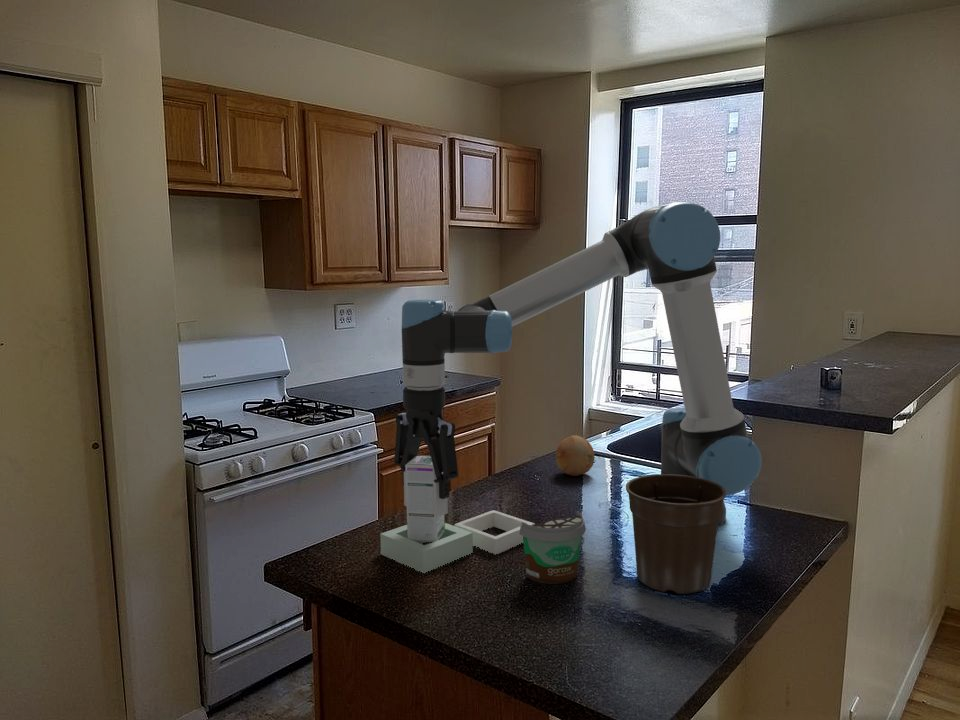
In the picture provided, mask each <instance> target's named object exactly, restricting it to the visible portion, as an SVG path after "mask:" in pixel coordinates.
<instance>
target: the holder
mask: <svg viewBox="0 0 960 720" xmlns="http://www.w3.org/2000/svg"><path fill="white" fill-rule="evenodd" d="M522 522H524V523H526V524H528V525H536V524H535V523H534V522H531V521H528V520H526V519H522V518H519V517H516V516H513V515H510V514H507V513H504V512H500V511H499V510H494V509H493V510H490V511H487V512H484V513H482V514H479V515H477V516H473V517H470V518H468V519H465V520H462V521H459V522H457V523H454V525H453V526H455V527H458V528H461V529H463V530H466V531H469V532H472V533H473V547H474V546H476V547H475V548H477V547H479V548H480V549H479V548H478V549H479V550H482V549H483V550H482V551H484V550H485V552H487V551H488V553H490V554H492V553H493V555H495V556H497V555H499V554H500V553H503V552H506V551H508V550H510V548H511V549H512V547H513V548H515V547H518V546H520V545H522V544H524V542H523V536H522V535H520V534H519V533H520V527H521V526H522ZM493 527H494V528H497V529H500V530H503V531H505V532H503V533H500V534H498V535H494V534H493V535H492V534H490V533H487V532H484V531H486V530H488V528H489V529H491V528H493ZM483 530H484V531H483ZM521 543H522V544H521ZM519 544H520V545H519ZM517 545H518V546H517ZM496 554H497V555H496Z"/></svg>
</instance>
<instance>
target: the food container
mask: <svg viewBox="0 0 960 720" xmlns="http://www.w3.org/2000/svg"><path fill="white" fill-rule="evenodd" d="M575 513H576V514H575V516H571V517H565V518H551V519H548V520H545V521H542V522H539V523H536V524H535V525H528V524H526V523H524V522H522V526H521V527H520V533H519V534H520V535H522V536H523V542H524V543H523V551H524V560H525V561H524V562H525V563H524V564H525V574H526V577H527V578H528V579H529V580H531V581H534V582H537V583H542V584H549V585H551V584H552V585H554V584H557V585H558V584H563V583H568V582H570V581H572V580H574V579H576V578H577V576H578V569H579V559H580V553H581V543H582V536H583V535H584V534H585V533H586V532H587V531H586V530H587V529H586V521H585V519H584V517H583V516H584V515H583V514H582V513H581V512H580V511H578V510H577V511H576V512H575Z"/></svg>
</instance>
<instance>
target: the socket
mask: <svg viewBox="0 0 960 720" xmlns="http://www.w3.org/2000/svg"><path fill="white" fill-rule="evenodd" d="M379 535H380V536H379V537H380V555H382V556H384V557H386V558H388V559H390V560H392V559H393V561H394V560H395V562H397V563H399V564H401V565H403V564H404V565H403V566H406V565H407V566H406V567H408V566H409V567H408V568H410V567H411V569H412V568H414V569H415V570H414V569H413V570H414V571H416V572H419V571H420V572H419V573H421V572H422V574H423V573H424V574H426V572H427V573H429V572H432V571H433V569H434V570H437V569H439V568H441V567H443V565H444V566H446V565H448V564H451V563H453V562H455V561H454V560H456V561H458V560H460V559H459V558H461V557H463V558H465V557H467V556H466V555H468V556H470V555H472V554H471V553H474V552H473V550H474V546H473V533H472V532H469V531H466V530H463V529H461V528H458V527H455V526H454V525H452V524H450V523H447V522H445V531H444V533H443V534H442V536H441V537H440V538H439V540H437V541H435V542H432V543H430V542H428V543H426V542H422V541H413V540H410V539H408V536H407V524H405V525H402V526H399V527H396V528H393V529H389V530H388V531H384V532H381V533H380V534H379ZM423 543H425V544H423ZM469 554H470V555H469ZM464 556H465V557H464ZM457 559H458V560H457ZM461 559H462V558H461ZM452 561H453V562H452ZM450 562H451V563H450ZM447 563H448V564H447ZM445 564H446V565H445ZM440 566H441V567H440ZM438 567H439V568H438ZM431 570H432V571H431ZM428 571H429V572H428Z"/></svg>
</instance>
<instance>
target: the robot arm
mask: <svg viewBox="0 0 960 720" xmlns="http://www.w3.org/2000/svg"><path fill="white" fill-rule="evenodd" d="M720 243H721V231H720V226H719V223H718V221H717V220H716V218H715V216H714V215H713V214H712V213H711V211H709V210H708V209H706V208H705V207H704V206H702V205H700V204H697V203H695V202H689V201H688V202H687V201H675V202H669V203H667V204H663V205H656V206H652V207H649V208H647V209H645V210H643V211H641V212H639V213H638V214H636V215H635V216H633V217H631V218H630V219H629V220H626V222H624V223H622V224H620V225H618V226H617V227H614V228H613V229H611V230H609V231H607V232H605V233H604V234H603V237H602V240H601V241H598V242H596V243H594V244H592V245H590V246H588V247H586V248H584V249H582V250H580V251H578V252H576V253H573V254H572V255H569V256H568V257H565V258H564V259H561V260H559V261H557V262H555V263H553V264H551V265H549V266H547V267H545V268H542V269H541V270H539V271H536V272H534V273H533V274H531V275H528V276H527V277H524V278H523V279H521V280H518V281H516V282H514V283H512V284H510V285H507V287H504V288H502V289H500V290H498V291H495V292H493V293H492V294H490V295H488V296H487V297H483V298H482V299H480V300H478V301H476V302H474V303H467V304H466V305H463V306H462V307H460V308H459V309H458V310H456V311H454V310H451V311H450V310H446V308H445V304H444V302H443V300H441V299H440V300H439V299H412V300H411V299H410V300H407V301H405V302H404V303H403V304H402V307H401V348H402V349H401V350H402V351H401V354H402V357H401V358H402V384H403V386H405V387H404V388H403V389H402V405H403V408H404V409H405V410H406V411H405V412H402V413H401V412H400V413H396V414H395V416H394V417H395V424H396V432H395V433H396V434H395V443H394V444H395V445H394V446H395V447H394V456H393V463H394V465H396V466H399V467H400V470H402V472H401V473H402V486H403V500H404V501H403V506H405V507H407V506H406V472H405V465H406V464H407V463H408V462H409V461H410V460H412V459H413V458H414V457H415V456H418V453H419V450H420V447H421V443H422V439H423V442H424V444H425V445H426V446H427V448H428V451H429V456H431V460H432V463H433V467H434V471H435V474H436V478H437V479H436V480H434V481H433V492H434V516H435V517H439V516H442V515H444V514H445V515H447V514H449V513H448V512H449V510H448V508H449V506H448V505H449V503H448V501H449V497H450V481H451V480H453V479H456V478H458V477H459V471H458V469H459V468H458V460H457V452H456V443H455V441H456V440H455V432H456V431H455V430H456V424H455V422H449V423H448V422H447V421H445V420H444V417H443V415H442V412H443V411H442V410H443V409H444V408H445V406H446V390H445V387H444V385H445V384H446V372H445V371H446V366H445V359H446V358H445V355H446V354H458V353H461V354H464V353H468V354H471V353H472V354H474V353H475V354H480V353H482V354H484V353H485V354H488V353H489V354H492V355H493V354H496V353H506V352H508V351H510V350H511V347H512V342H513V327H514V326H517V325H518V324H521V323H523V322H525V321H527V320H529V319H531V318H533V317H535V316H537V315H539V314H542V313H544V312H546V311H547V310H550V309H552V308H554V307H556V306H558V305H560V304H562V303H565V302H566V301H569V300H571V299H572V298H575V297H577V296H578V295H581V294H583V293H585V292H587V291H589V290H591V289H593V288H595V287H598V286H599V285H601V284H604V283H605V282H608V281H610V280H612V279H614V278H616V277H618V276H620V277H622V278H627V277H629V276H632V275H634V274H636V273H638V272H641V271H644V270H648V273H649V278H650V282H651V286H652V287H654V288H655V289H657V290H659V291H660V292H661V295H662V300H663V304H664V308H665V309H664V310H665V316H666V320H667V324H668V330H669V336H670V341H671V345H672V350H673V355H674V359H675V365H676V370H677V374H678V375H677V376H678V381H679V385H680V391H681V396H682V400H683V401H682V402H683V405H684V406H683V407H676V408H670V409H667V410H665V411H664V412H663V415H662V423H661V424H660V426H661V451H660V452H661V453H660V455H661V457H660V458H661V459H660V474H674V475H686V476H693V477H699V478H703V479H707V480H710V481H712V482H715V483H717V484H719V485H721V486H722V487H724V488H725V490H726V496H730V495H735V494H739V493H741V492H744V491H745V490H747V489H748V488H749V487H750V486H752V485H753V483H754V481H755V480H756V479H757V478H758V477H759V474H760V473H761V469H762V463H763V462H762V454H761V451H760V449H759V448H758V446H757V445H756V443H755V442H754V441H753V440H752V439H751V438H749V435H748V431H747V426H746V425H747V424H746V420H745V419H746V418H745V415H744V414H743V413H742V412H741V411H739V410H738V409H736V408H735V407H734V403H733V398H732V394H731V387H730V381H729V376H728V372H727V367H726V361H725V356H724V355H725V354H724V351H723V344H722V340H721V335H720V329H719V323H718V318H717V313H716V307H715V302H714V297H713V292H712V286H711V281H712V279H713V277H714V276H715V275H716V274H717V272H718V268H717V263H716V257H715V255H716V253H717V251H718V250H719V249H720ZM442 472H443V474H442ZM726 521H727V507H726V504H725V499H723V503H722V510H721V516H720V518H719V519H718V527H719V526H721V525H723V524H724V523H725V522H726Z"/></svg>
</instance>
